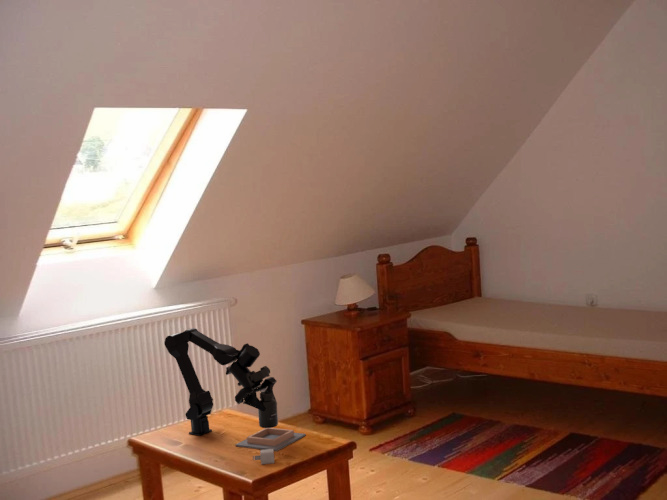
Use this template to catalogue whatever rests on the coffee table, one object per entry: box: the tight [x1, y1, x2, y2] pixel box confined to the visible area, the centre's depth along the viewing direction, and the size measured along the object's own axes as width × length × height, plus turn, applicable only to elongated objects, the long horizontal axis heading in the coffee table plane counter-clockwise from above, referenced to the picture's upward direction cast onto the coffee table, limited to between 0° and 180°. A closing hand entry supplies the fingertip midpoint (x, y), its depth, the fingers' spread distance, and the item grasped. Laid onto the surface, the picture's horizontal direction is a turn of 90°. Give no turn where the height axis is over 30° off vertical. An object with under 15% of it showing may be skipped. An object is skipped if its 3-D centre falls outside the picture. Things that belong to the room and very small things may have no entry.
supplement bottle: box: [257, 391, 279, 429], centre depth 284 cm, size 7×7×12 cm
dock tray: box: [235, 427, 306, 452], centre depth 285 cm, size 18×18×3 cm
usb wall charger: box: [252, 449, 275, 465], centre depth 262 cm, size 4×7×4 cm, turn 95°
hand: (270, 407), depth 284 cm, fingers closed on supplement bottle, 7 cm apart
